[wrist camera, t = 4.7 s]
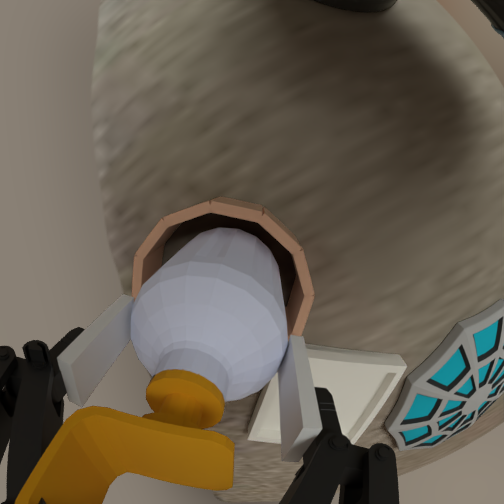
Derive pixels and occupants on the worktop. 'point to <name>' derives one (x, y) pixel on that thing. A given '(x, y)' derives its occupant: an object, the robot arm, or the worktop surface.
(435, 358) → the decorative platform
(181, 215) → the holder ring
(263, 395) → the tray
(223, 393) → the soap bottle
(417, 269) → the worktop surface
